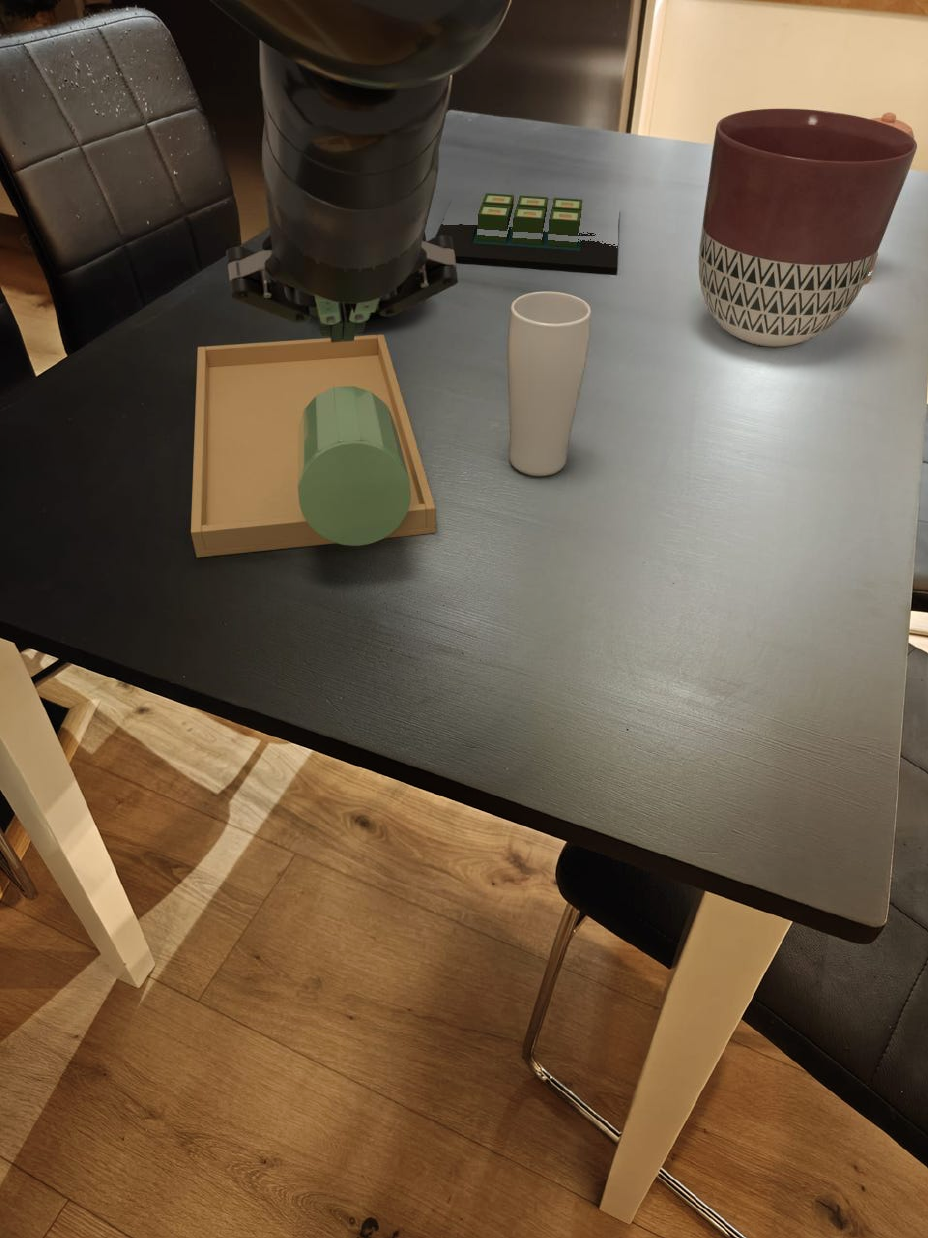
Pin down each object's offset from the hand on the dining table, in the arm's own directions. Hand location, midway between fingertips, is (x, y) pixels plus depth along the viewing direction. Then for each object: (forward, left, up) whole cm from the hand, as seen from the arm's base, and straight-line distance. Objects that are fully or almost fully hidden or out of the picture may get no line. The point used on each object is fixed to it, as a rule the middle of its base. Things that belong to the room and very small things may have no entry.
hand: (340, 326), depth 58 cm
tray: (-3, +21, -21) cm, 29 cm away
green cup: (0, 0, -13) cm, 13 cm away
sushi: (+32, +71, -21) cm, 81 cm away
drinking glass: (+18, +13, -21) cm, 31 cm away
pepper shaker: (+69, +51, -21) cm, 88 cm away
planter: (+51, +35, -21) cm, 66 cm away
